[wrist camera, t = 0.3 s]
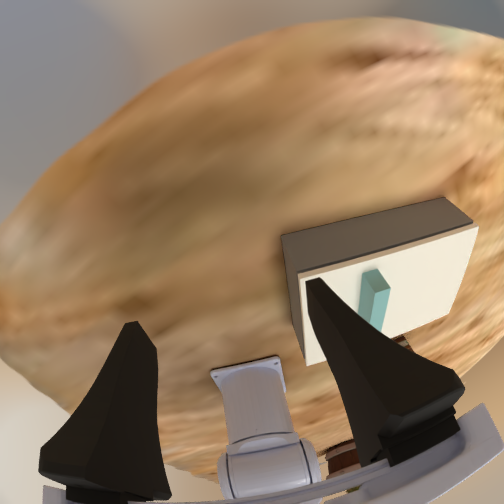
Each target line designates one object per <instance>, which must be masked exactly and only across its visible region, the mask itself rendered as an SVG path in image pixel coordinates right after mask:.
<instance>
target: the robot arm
mask: <svg viewBox="0 0 504 504" xmlns="http://www.w3.org/2000/svg"><path fill="white" fill-rule="evenodd" d="M305 285H306V297H307V309H308V316H309V319H310V322H311V325H312V328H313V331H314V334H315V336H316V338H317V340H318V343H319V345H320V347H321V349H322V351H323V353H324V355H325V358H326V360H327V362H328V364H329V366H330V368H331V371H332V373H333V375H334V377H335V380H336V382H337V385H338V388H339V391H340V394H341V397H342V400H343V403H344V406H345V410H346V413H347V416H348V420H349V423H350V427H351V430H352V434H353V437H354V441H355V445H356V449H357V453H358V458H359V462H360V465H361V468H360V469H357V470H355V471H352V472H349V473H346V474H343V475H340V476H337V477H334V478H330V479H327V480H324V481H321V471H320V467H319V462H318V458H317V455H316V452H315V449H314V447H313V445H312V443H311V442H310V441H309V440H307V439H306V438H301V439H299V437H298V433H297V432H295V431H294V427H293V423H292V419H291V416H290V412H289V408H288V404H287V401H286V397H285V392H286V387H285V382H284V377H283V372H282V367H281V362H280V358H279V357H278V356H275V357H271V358H266V359H262V360H258V361H254V362H249V363H245V364H240V365H236V366H231V367H226V368H221V369H216V370H212V371H211V372H210V374H211V377H212V378H213V380H214V381H215V383H216V385H217V386H218V388H219V389H220V391H221V393H222V397H223V404H224V412H225V419H226V426H227V433H228V439H229V445H227V446H226V447H227V452H226V453H222V454H221V456H220V457H219V459H218V462H217V470H218V478H219V483H220V487H221V491H222V494H223V496H224V498H225V500H218V501H207V502H206V501H205V502H185V503H154V502H146V501H153V500H169V499H170V498H171V496H172V493H171V491H170V487H169V484H168V480H167V476H166V472H165V468H164V463H163V459H162V454H161V448H160V441H159V434H158V425H157V389H158V360H157V349H156V347H155V346H154V344H153V343H152V341H151V340H150V339H149V337H148V336H147V334H146V333H145V331H144V330H143V329H142V327H141V326H140V324H139V323H138V321H134V322H129V323H125V325H124V327H123V328H122V330H121V332H120V334H119V336H118V338H117V340H116V342H115V344H114V346H113V348H112V350H111V352H110V354H109V356H108V358H107V360H106V362H105V364H104V366H103V367H102V369H101V371H100V373H99V375H98V376H97V378H96V380H95V382H94V383H93V385H92V387H91V388H90V390H89V392H88V393H87V395H86V396H85V398H84V399H83V401H82V402H81V404H80V405H79V406H78V408H77V409H76V410H75V411H74V413H73V414H72V415H71V417H70V418H69V419H68V420H67V422H66V423H65V424H64V425H63V426H62V427H61V428H60V430H59V431H58V432H57V433H56V434H55V435H54V436H53V437H52V438H51V439H50V440H49V441H48V442H47V443H45V444H44V445H43V446H42V447H41V450H40V459H39V469H38V471H39V473H40V474H41V475H42V476H45V477H47V478H49V479H51V480H53V481H56V482H58V483H61V484H63V485H66V490H63V489H59V488H54V487H50V486H46V485H44V486H43V504H319V503H320V502H321V501H322V498H323V497H325V496H329V495H332V494H335V493H338V492H342V491H345V490H348V489H351V488H354V487H356V486H359V485H361V486H360V487H359V490H357V491H354V492H351V493H348V494H345V495H343V496H340V497H337V498H334V499H331V500H328V501H325V502H324V504H428V503H430V502H431V501H433V500H435V499H437V498H438V497H440V496H441V495H443V494H445V493H446V492H448V491H449V490H451V489H452V488H454V487H455V486H457V485H458V484H460V483H461V482H462V481H464V480H465V479H466V478H468V477H470V476H471V475H472V474H474V473H475V472H476V471H477V470H479V469H480V468H482V467H483V466H484V465H486V464H487V463H488V462H490V461H491V460H492V459H493V458H495V457H496V456H497V455H499V454H500V453H501V452H502V451H503V450H504V443H503V441H502V439H501V437H500V435H499V432H498V430H497V428H496V426H495V424H494V422H493V420H492V418H491V417H490V414H489V412H488V410H487V409H486V406H485V405H484V403H481V404H479V405H478V406H476V407H475V408H473V409H472V410H471V411H469V412H467V413H466V414H464V415H463V416H461V417H460V418H458V419H457V420H456V419H455V417H454V414H455V413H456V411H455V409H454V407H453V405H454V404H455V403H456V402H457V401H458V399H459V398H460V397H461V396H462V395H463V393H464V391H465V387H464V385H463V383H462V382H461V380H460V378H459V377H458V375H457V374H456V373H455V371H454V370H453V369H450V368H448V367H445V366H442V365H440V364H437V363H435V362H432V361H430V360H428V359H426V358H424V357H422V356H420V355H418V354H416V353H414V352H412V351H411V350H409V349H407V348H405V347H403V346H402V345H400V344H398V343H397V342H395V341H393V340H392V339H390V338H389V337H387V336H386V335H384V334H383V333H382V332H380V331H379V330H377V329H376V328H375V327H373V326H372V325H371V324H369V323H368V322H367V321H366V320H365V319H363V318H362V317H361V316H360V315H359V314H357V313H356V312H355V311H354V310H353V309H352V308H351V307H350V306H348V305H347V304H346V303H345V302H344V301H343V300H342V299H341V298H340V297H339V296H338V295H337V294H336V293H335V292H334V291H333V290H332V289H331V288H330V287H329V286H328V285H327V284H326V283H325V281H324V280H323V279H322V278H320V277H318V278H314V279H311V280H307V281H305Z"/></svg>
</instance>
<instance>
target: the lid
mask: <svg viewBox="0 0 504 504" xmlns="http://www.w3.org/2000/svg"><path fill="white" fill-rule="evenodd" d="M478 229H479V225H477V224H476V223H473V224H470V225H467V226H464V227H461V228H458V229H454V230H451V231H448V232H445V233H442V234H438V235H435V236H432V237H428V238H425V239H422V240H418V241H415V242H412V243H408V244H405V245H401V246H398V247H395V248H391V249H388V250H384V251H381V252H377V253H374V254H370V255H367V256H363V257H359V258H356V259H352V260H349V261H345V262H341V263H338V264H334V265H330V266H326V267H323V268H319V269H315V270H311V271H307V272H304V273H300V274H298V282H299V293H300V303H301V314H302V326H303V338H304V351H305V363H306V366H309V365H312V364H316V363H319V362H323V361H326V358H325V355H324V353H323V351H322V349H321V347H320V345H319V343H318V340H317V338H316V336H315V334H314V331H313V328H312V325H311V322H310V319H309V316H308V309H307V297H306V285H305V281H307V280H311V279H314V278H318V277H320V278H322V279H323V280H324V281H325V283H326V284H327V285H328V286H329V287H330V288H331V289H332V290H333V291H334V292H335V293H336V294H337V295H338V296H339V297H340V298H341V299H342V300H343V301H344V302H345V303H346V304H347V305H348V306H350V307H351V308H352V309H353V310H354V311H355V312H356V313H357V314H359V315H360V316H361V317H362V318H363V319H365V320H366V321H367V322H368V323H369V324H371V325H372V326H373V327H375V328H376V329H377V330H379V331H380V332H382V333H383V334H384V335H386V336H387V337H389V338H393V337H395V336H398V335H400V334H403V333H405V332H408V331H410V330H413V329H415V328H417V327H420V326H422V325H424V324H427V323H429V322H431V321H434V320H436V319H438V318H440V317H442V316H445V315H447V314H449V311H450V309H451V307H452V304H453V302H454V299H455V297H456V294H457V292H458V289H459V287H460V284H461V281H462V279H463V276H464V273H465V270H466V267H467V264H468V262H469V258H470V255H471V252H472V249H473V246H474V243H475V239H476V236H477V232H478Z"/></svg>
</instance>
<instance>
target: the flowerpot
mask: <svg viewBox="0 0 504 504" xmlns="http://www.w3.org/2000/svg"><path fill="white" fill-rule="evenodd" d="M325 459H326V461H328V470H329V475H328V476H327V478H326V480H327V479H330V478H334V477H337V476H340V475H343V474H346V473H349V472H352V471H355V470H357V469H360V468H361V465H360V462H359V458H358V453H357V449H356V445H355V441H354V439H353V440H349V441H347V442H343V443H341V444H340V445H338V446H337V447H336V446H334V447H332V448H331V449H329V450H328V451H327V454H326V457H325ZM360 486H361V485H359V486H356V487H354V488H351V489H348V490H347V491H346V492H348V493H351V492H354V491H357V490H359V487H360Z"/></svg>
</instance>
